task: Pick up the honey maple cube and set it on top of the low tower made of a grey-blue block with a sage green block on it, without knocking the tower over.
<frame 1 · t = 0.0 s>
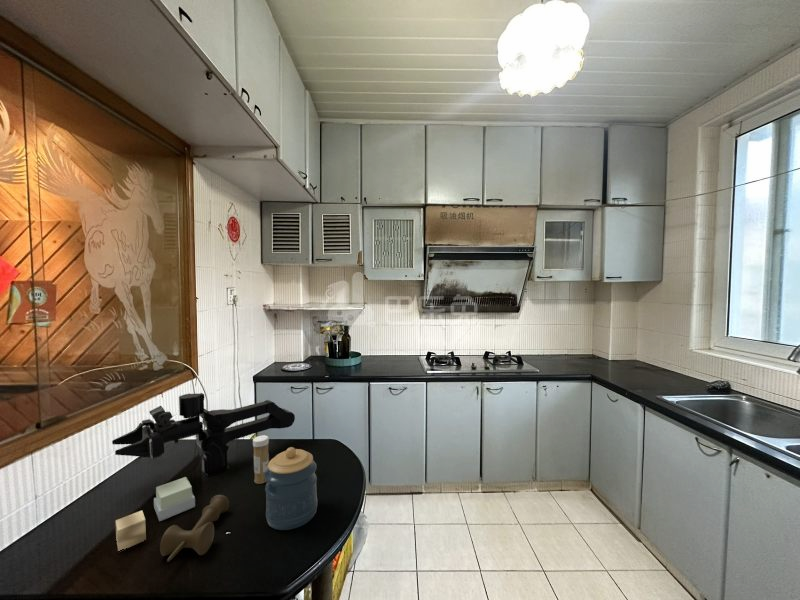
hand: (113, 447, 90), 17 cm above the counter, tool horizontal, fingers open, 9 cm apart
sprinkles bottle: (262, 480, 101), on the counter
kendama: (198, 540, 77), on the counter
maple cube: (131, 540, 77), on the counter
sage block: (174, 497, 89), point 3 cm above the counter, touching base block
canister: (292, 514, 85), on the counter
base block: (174, 508, 89), on the counter, touching sage block
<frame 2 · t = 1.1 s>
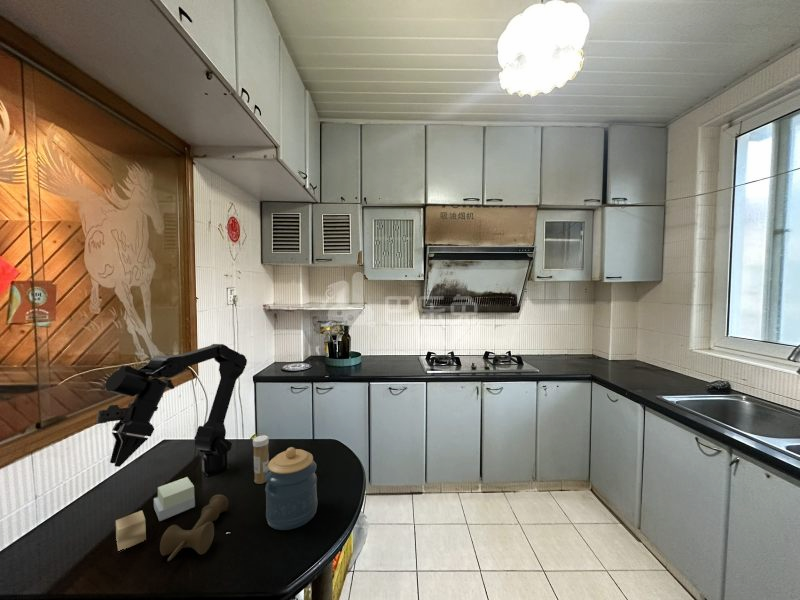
hand: (114, 464, 80), 17 cm above the counter, tool tilted 30°, fingers open, 9 cm apart
nothing on the counter moved.
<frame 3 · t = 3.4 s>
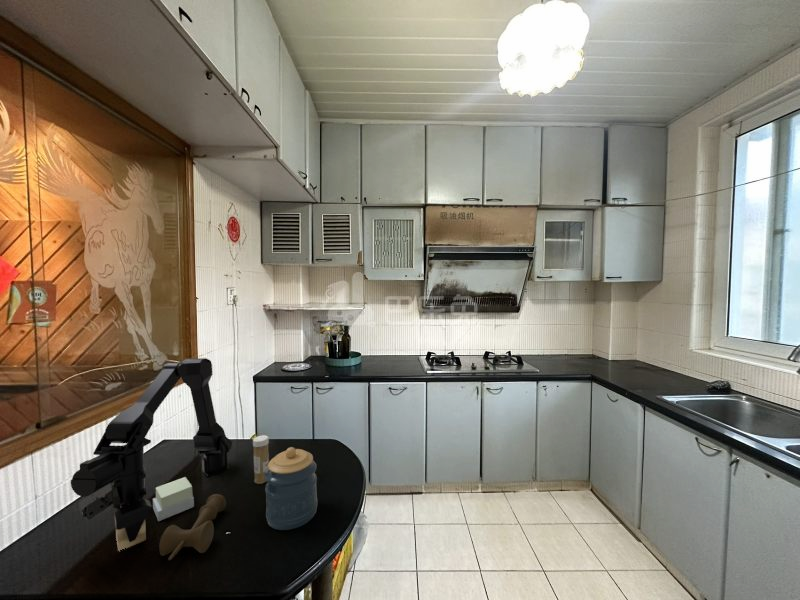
hand: (130, 535, 77), 1 cm above the counter, tool pointing down, fingers closed on maple cube, 5 cm apart
maple cube: (131, 540, 77), on the counter, touching gripper
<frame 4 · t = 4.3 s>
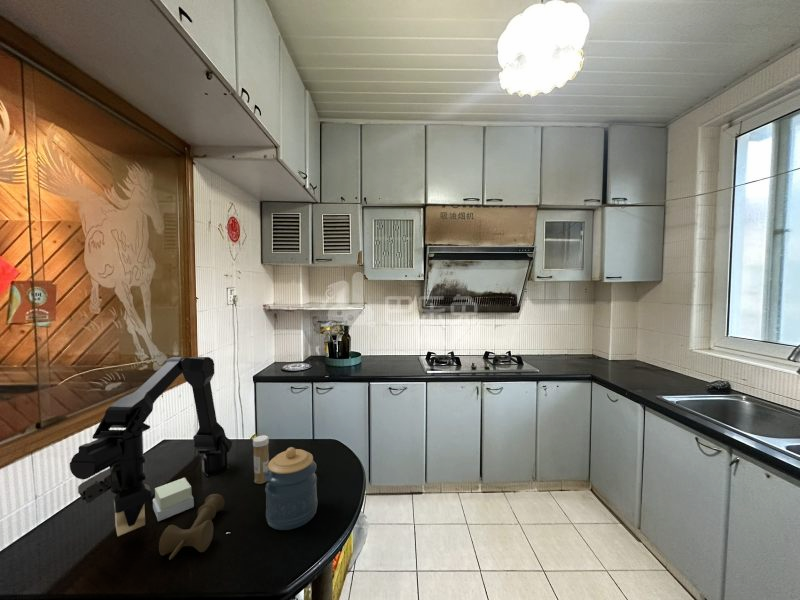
hand: (130, 520, 77), 5 cm above the counter, tool pointing down, fingers closed on maple cube, 5 cm apart
maple cube: (130, 525, 77), point 4 cm above the counter, touching gripper
sage block: (173, 498, 89), point 2 cm above the counter
base block: (173, 509, 89), on the counter
everything else where it was.
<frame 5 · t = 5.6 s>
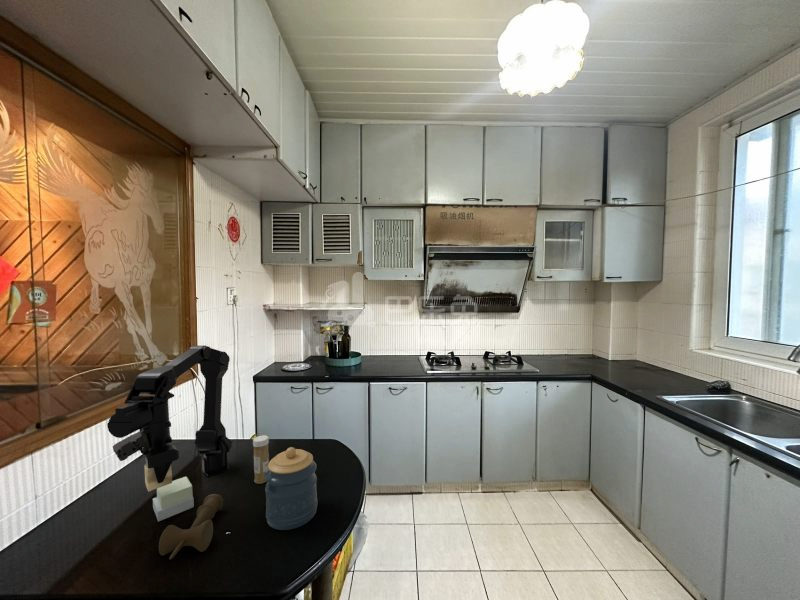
hand: (158, 478, 85), 11 cm above the counter, tool pointing down, fingers closed on maple cube, 5 cm apart
maple cube: (158, 483, 85), point 9 cm above the counter, touching gripper
sage block: (174, 496, 90), point 3 cm above the counter, touching base block
base block: (173, 508, 89), on the counter, touching sage block
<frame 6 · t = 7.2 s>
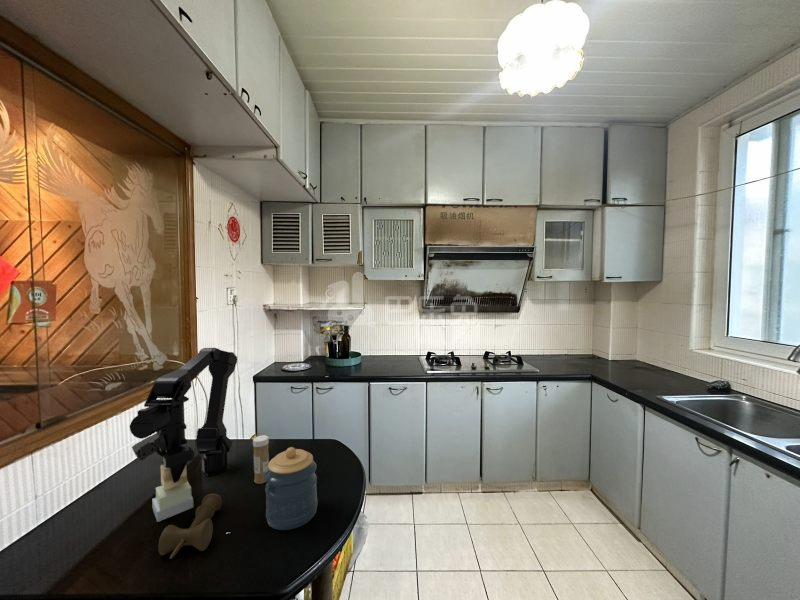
hand: (173, 478, 89), 8 cm above the counter, tool pointing down, fingers closed on maple cube, 5 cm apart
maple cube: (173, 482, 89), point 7 cm above the counter, touching gripper
sage block: (173, 498, 89), point 2 cm above the counter
base block: (173, 509, 89), on the counter
when the fingers open (8 cm above the counter, at t = 7.4 s): maple cube drops 1 cm, resting on sage block.
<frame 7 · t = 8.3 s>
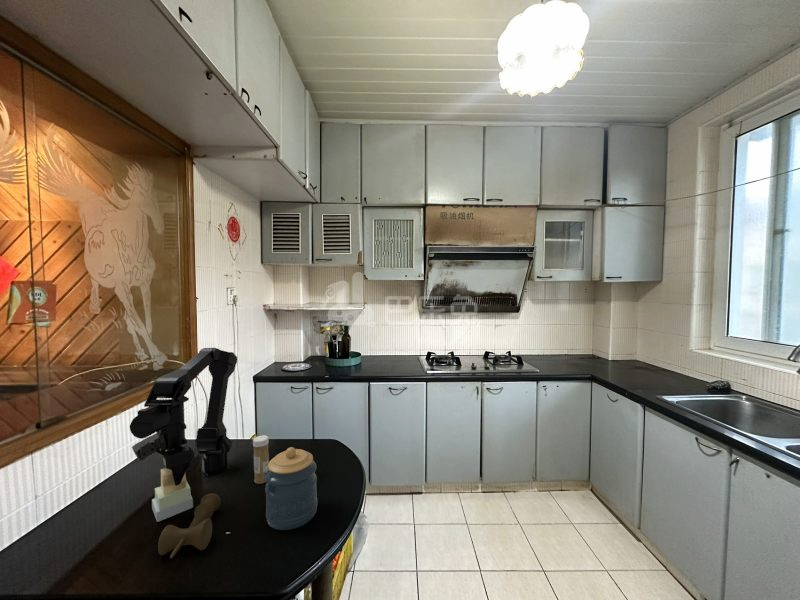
hand: (173, 478, 89), 8 cm above the counter, tool pointing down, fingers open, 9 cm apart
maple cube: (173, 487, 89), point 5 cm above the counter, touching sage block
sage block: (172, 498, 89), point 2 cm above the counter, touching base block, maple cube
base block: (172, 509, 89), on the counter, touching sage block
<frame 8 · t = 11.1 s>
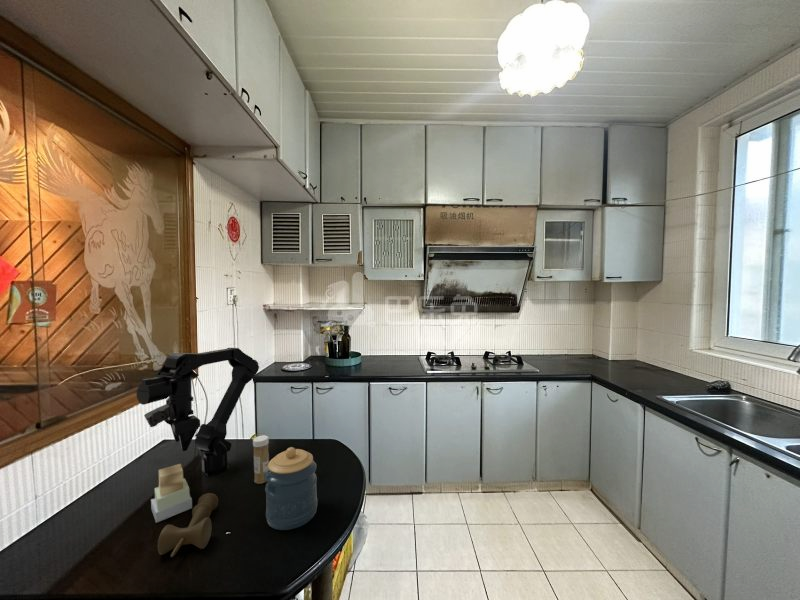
hand: (180, 446, 98), 13 cm above the counter, tool pointing down, fingers open, 9 cm apart
at the end: maple cube 0.1 cm off-centre on the base block, point 6.0 cm above the base block's base; maple cube tilted 0°; sage block 0.2 cm off-centre on the base block, point 3.0 cm above the base block's base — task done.
